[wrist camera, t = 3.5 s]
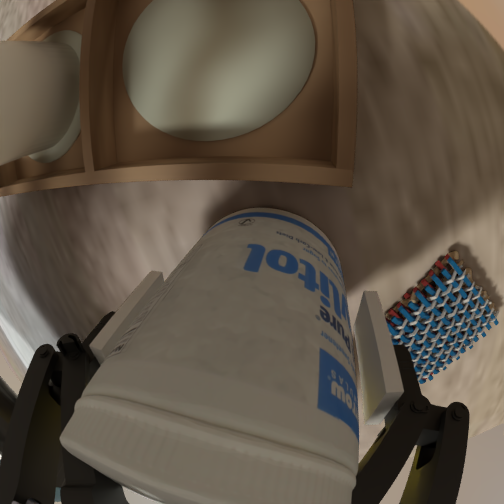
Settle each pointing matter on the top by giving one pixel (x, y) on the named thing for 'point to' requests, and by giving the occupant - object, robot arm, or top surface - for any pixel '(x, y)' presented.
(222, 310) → the supplement tub
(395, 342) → the woven mat
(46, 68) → the canister
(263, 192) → the top surface
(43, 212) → the top surface
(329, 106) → the crate
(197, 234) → the top surface
